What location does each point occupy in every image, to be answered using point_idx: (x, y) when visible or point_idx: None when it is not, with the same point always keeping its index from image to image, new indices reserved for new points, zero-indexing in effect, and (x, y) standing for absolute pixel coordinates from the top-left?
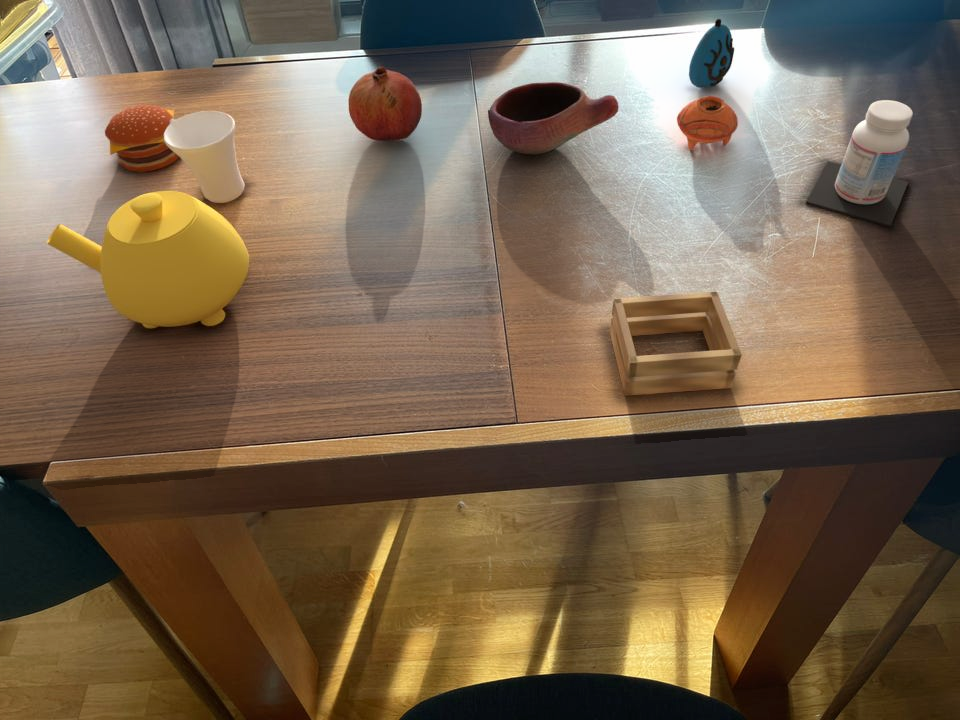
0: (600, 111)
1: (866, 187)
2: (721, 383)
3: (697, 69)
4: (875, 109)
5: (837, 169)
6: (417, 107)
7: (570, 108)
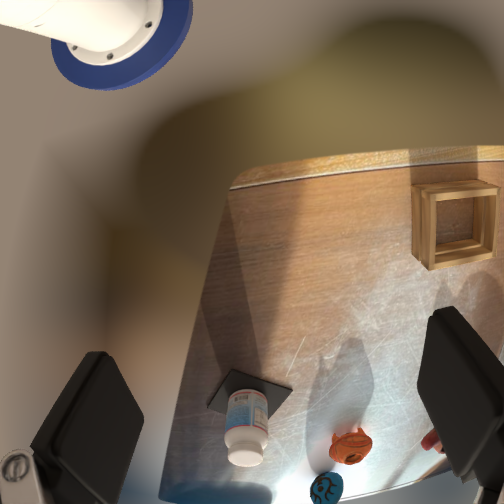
0: (435, 437)
1: (251, 400)
2: (422, 185)
3: (340, 482)
4: (257, 459)
5: None
6: None
7: None
